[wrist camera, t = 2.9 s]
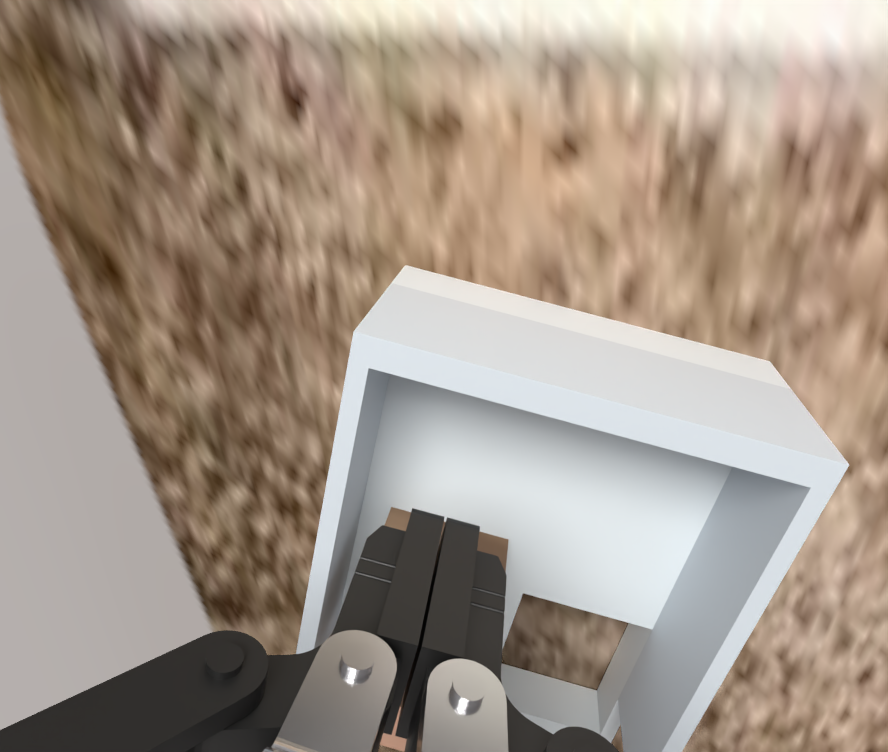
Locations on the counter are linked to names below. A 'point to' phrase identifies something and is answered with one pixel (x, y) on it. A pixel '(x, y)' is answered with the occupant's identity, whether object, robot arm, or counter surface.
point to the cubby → (578, 485)
